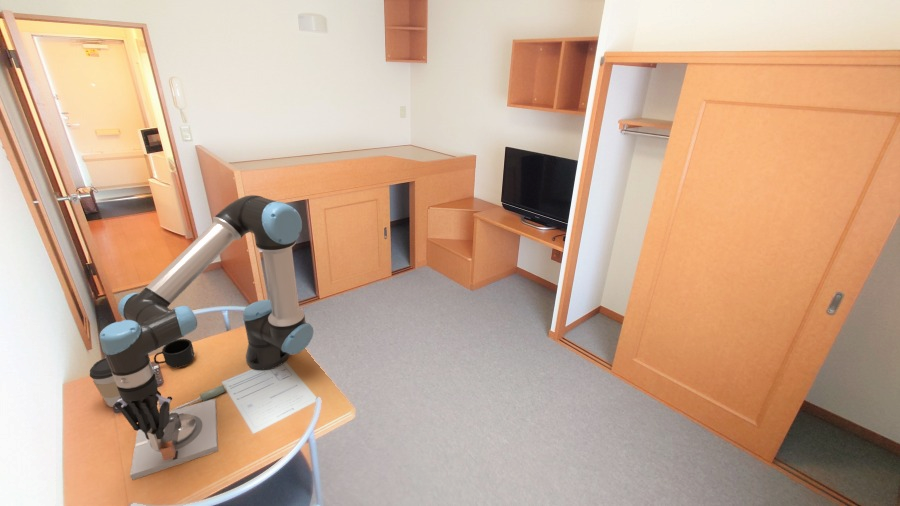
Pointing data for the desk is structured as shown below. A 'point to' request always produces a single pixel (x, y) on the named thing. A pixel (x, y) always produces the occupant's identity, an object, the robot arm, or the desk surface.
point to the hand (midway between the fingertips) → (159, 445)
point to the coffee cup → (105, 382)
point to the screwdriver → (206, 396)
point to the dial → (176, 433)
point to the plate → (188, 450)
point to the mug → (177, 353)
